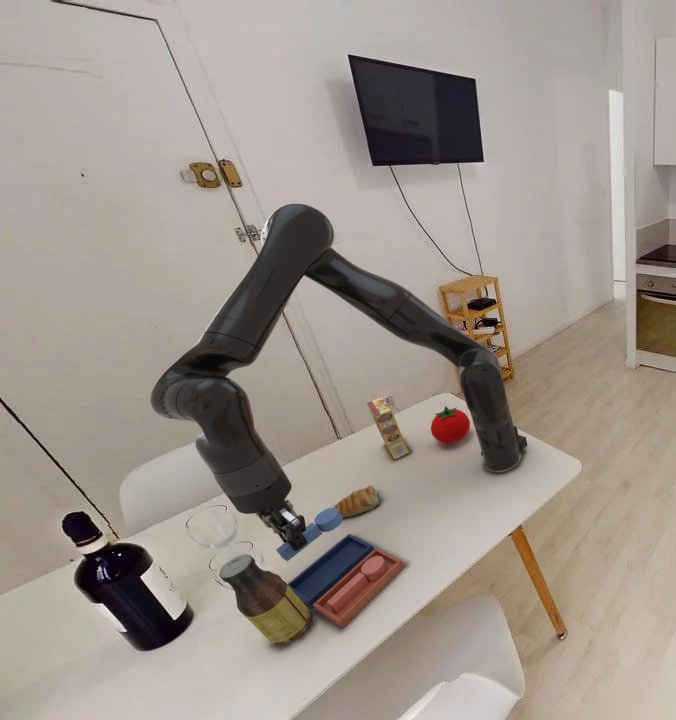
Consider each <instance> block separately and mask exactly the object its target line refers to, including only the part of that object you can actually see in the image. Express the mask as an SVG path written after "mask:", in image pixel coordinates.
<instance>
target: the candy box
mask: <svg viewBox="0 0 676 720" xmlns="http://www.w3.org/2000/svg"><path fill="white" fill-rule="evenodd" d="M366 405H367V407H368V409H369V410H368V411H369V412H370V414H371V416H372V418H373V421H374V423H375V425H376V428H377V430H378V431H379V434H380V436H381V438H382V440H383V442H384V444H385V447H386V448H387V450H388V451H389V453H390V455H391V456H392V458H393V459H394V460H397V459H399V458H401V457H403V456H406V455H407V454H409V453H410V451H409V448H408V446H407V444H406V442H405V439H404V437H403V435H402V432H401V430H400V427H399V425H398V422H397V420H396V417H395V415H394V413H393V411H392V409H391V407H390V406H389V405H388V403H387V402H386V401H385V399H384V398H383V397H379V398H376V399H374V400H371V401H367V402H366Z"/></svg>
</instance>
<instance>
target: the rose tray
mask: <svg viewBox="0 0 676 720" xmlns="http://www.w3.org/2000/svg"><path fill="white" fill-rule="evenodd" d="M374 556H381V557H383V559H384V561H385V562H386V564H387V571H386V573H385V574H384V575H383V576H382V577H381V578H379V579H378V580H375V581H368V582H369V584H368V585H366V586H365V587H364V588H363V589H362V590H361V591H360V592H359V593H358V594H357V595H356V596H355V597H354V598H353V599H352V600H351V601H350V602H349V603H348V604H347V605H346V606H344V607H343V608H342V609H341V610H340V611H339V612H338V613H336V612H335V611H333V610H332V609H331V608H330V606H329V605H328V603H327V601H328V600H329V599H331V598H332V597H333V596H334V595H335V594H336V593H337V592H338V591H339V590H340V589H342V588H343V587H344V586H345V585H346V584H347V583H348V582H349V581H350V580H351V579H352V578H354V577H355V576H356V575H357V574H358V573H359V572H360V573H361V574H363V573H362V572H361V568H362V566H363V564H364V563H365V562H366V561H367V560H368V559H370V558H372V557H374ZM402 560H403V559H402ZM402 560H401V559H400V558H398V557H396V556H395V555H392V554H390V553H388V552H386V551H384V550H383V549H380V548H379V547H376V548H374V550H373V551H372V552H371V553H370V554H369V555H368V556H367V557H365V558H364V559H363V560H362V561H361V562H360V563H359V564H358V565H357V566H355V567H354V568H353V569H352V570H351V571H350V572H349V573H348V574H346V575H345V576H344V577H343V578H342V579H341V580H340V581H339V582H338V583H336V584H335V585H334V586H333V587H332V588H331V589H330V590H329V591H328V592H326V593H325V594H324V595H323V596H322V597H321V598H320V599H319V600H317V601H316V602H315V603H314V604H313V608H314V610H315V611H316V612H317V613H319V614H320V615H322V616H323V617H325V618H327V619H328V620H330V621H331V622H332V623H334V624H336V625H337V626H339V627H340V628H342V629H343V628H344V627H345V626H347V624H348V623H349V622H350V621H351V620H352V619H353V618H354V617H356V615H357V614H358V613H359V612H360V611H362V609H363V608H365V606H366V605H367V604H368V603H369V602H370V601H371V600H373V598H375V596H376V595H377V594H378V593H380V591H381V590H382V589H384V588H385V587H386V586H387V584H388V583H390V582H391V580H393V578H395V577H396V575H397V574H399V573H400V572H401V570H403V569H404V567H405V564H404V562H403V561H402Z"/></svg>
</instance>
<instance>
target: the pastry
mask: <svg viewBox="0 0 676 720" xmlns="http://www.w3.org/2000/svg"><path fill="white" fill-rule="evenodd" d="M378 505H379V498H378V492H377V489H376V488H374V486H373V485H368V486H367V487H363V488H360V489H358V490H354V491H352V492H351V494H349V495H348V496H347V497H345V498H343V499H341V500H340V501H339V502H338V503H336V504H335V505H334V506H333V508H337V509H338V511H339V512H340V514H341V516H342V518H343V519H344V518H349V517H354V516H357V515H360V514H363V513H365V512H367V511H371V510H373V509H374V508H376V507H377V506H378Z"/></svg>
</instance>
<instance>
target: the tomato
mask: <svg viewBox="0 0 676 720" xmlns="http://www.w3.org/2000/svg"><path fill="white" fill-rule="evenodd" d="M457 408H458V406H456V407H454V408H449V407H447V405H445V407H444V409H443V410H442V411H440V412H437V413H435V416H434V418H433V419H432V421H431V424H430V432H431V435H432V437H433V438H434V439H435V440H437V441H438V442H439V443H443V444H454V443H458V442H459V441H460V440H463V438H465V437H466V436H467V434H468V433H469V431H470V427H471V421H470V418H469V417H468V415H467V413H465V412H464V411H462V410H461V409H457Z"/></svg>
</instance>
